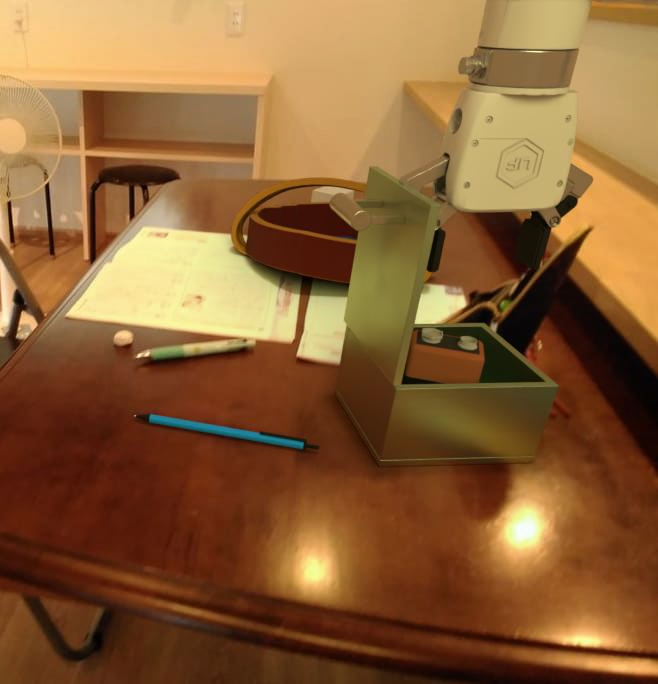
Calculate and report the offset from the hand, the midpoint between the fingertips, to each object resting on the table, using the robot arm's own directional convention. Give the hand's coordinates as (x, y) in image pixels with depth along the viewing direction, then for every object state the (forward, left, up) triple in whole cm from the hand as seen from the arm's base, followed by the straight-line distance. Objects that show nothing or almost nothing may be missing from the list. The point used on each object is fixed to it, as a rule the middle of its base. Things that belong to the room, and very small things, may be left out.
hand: (476, 265), depth 65 cm
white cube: (-12, -74, -18) cm, 77 cm away
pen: (+23, +1, -18) cm, 29 cm away
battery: (+1, 0, -18) cm, 18 cm away
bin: (+1, 0, -18) cm, 18 cm away
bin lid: (+8, 0, -1) cm, 8 cm away
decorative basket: (-3, -47, -18) cm, 51 cm away
